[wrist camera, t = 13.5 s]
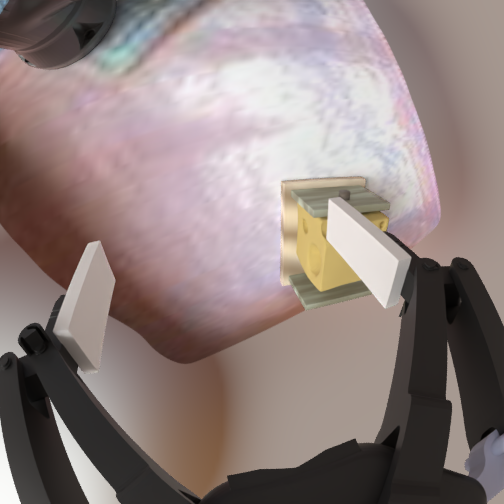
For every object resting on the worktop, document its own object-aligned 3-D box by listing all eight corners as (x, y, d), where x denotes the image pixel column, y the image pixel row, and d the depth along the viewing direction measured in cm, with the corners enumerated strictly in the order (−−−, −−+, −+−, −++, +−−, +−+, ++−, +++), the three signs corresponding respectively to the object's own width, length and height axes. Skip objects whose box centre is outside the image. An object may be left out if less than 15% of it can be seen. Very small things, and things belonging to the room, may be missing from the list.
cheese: (295, 196, 41) (325, 224, 33) (356, 191, 43) (394, 216, 35) (293, 257, 46) (317, 294, 38) (349, 248, 48) (380, 279, 40)
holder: (281, 181, 41) (306, 203, 33) (360, 176, 44) (396, 196, 36) (280, 281, 50) (299, 316, 42) (348, 268, 53) (374, 297, 45)
